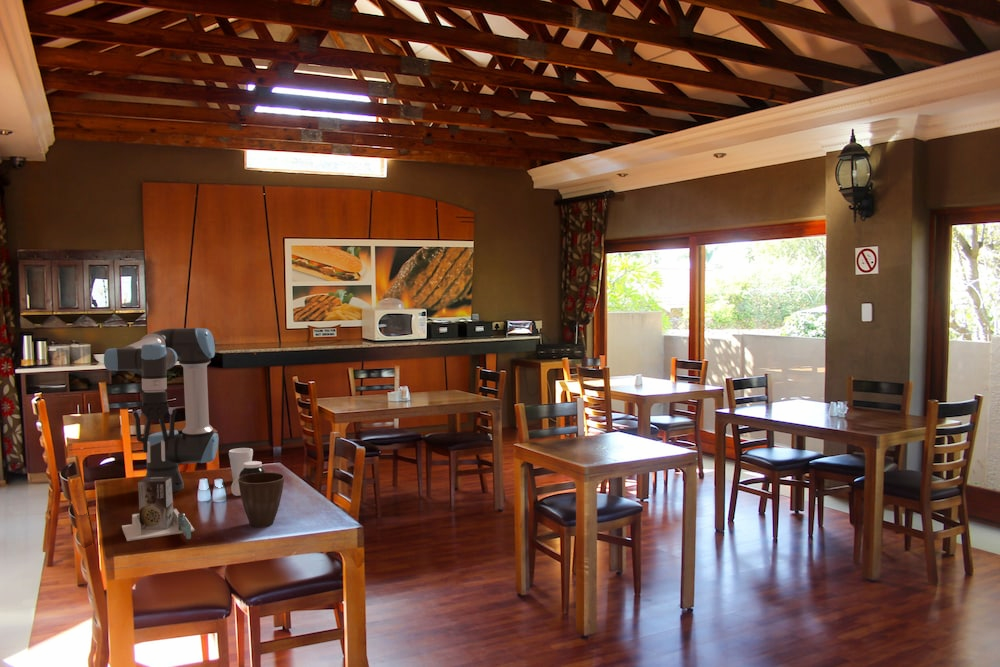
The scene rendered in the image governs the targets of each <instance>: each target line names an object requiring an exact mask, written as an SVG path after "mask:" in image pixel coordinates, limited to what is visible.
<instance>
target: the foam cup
mask: <svg viewBox="0 0 1000 667" xmlns="http://www.w3.org/2000/svg"><path fill="white" fill-rule="evenodd" d="M253 456H254V450H253V448H249V447H239V448H232V449H230V450H228V457H229V463H230V468H231V470H230V471H231V476H232V482H233V481H234V480H235V479H237V478H239V475H240V472H241V471H242V469H243V468H244V463H245V462H250V461H253Z"/></svg>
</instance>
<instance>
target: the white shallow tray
mask: <svg viewBox="0 0 1000 667" xmlns="http://www.w3.org/2000/svg"><path fill="white" fill-rule="evenodd" d="M178 514H180V512H179V511H178V509H177V508H173V520H174V524H173V525H171V526H170V527H169V528H168V529H142V530H141V524H140V518H139V513H133V514H131V524H126V525H125V524H124V525H121V530H122V532H123V535H124V536H125V539H126V542H131V541H137V540H138V541H139V540H145V539H146V540H147V539H151V538H159V537H165V536H171V535H172V536H173V535H178V534H180V535H181V534H183V532H182V531H181V530H178ZM185 518H186V520H187V521H188V523H189V524H190V525H191V533H192V532H195V528H194V527H193V525H192V524H191V522H190V521H189V519H188V518H187V517H186V516H185Z"/></svg>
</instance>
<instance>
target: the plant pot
mask: <svg viewBox="0 0 1000 667" xmlns="http://www.w3.org/2000/svg"><path fill="white" fill-rule="evenodd" d="M238 482H239V488H240V494H241V496H240V498H241V501H242V502H241V503H242V505H243V509H244V512H245V514H246V518H247V520H248V522H249V525H250V526H251V527H254V528H265V527H269V526H272V525H274V521H275V519H276V516H277V513H278V510H279V508H280V504H281V499H282V495H283V489H284V482H285V475H284V474H282V473H278V472H266V473H254V474H248V475H244V476H241V477H240V478H239V479H238Z"/></svg>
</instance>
